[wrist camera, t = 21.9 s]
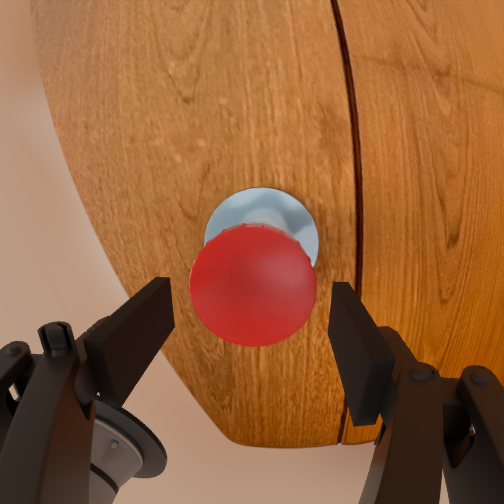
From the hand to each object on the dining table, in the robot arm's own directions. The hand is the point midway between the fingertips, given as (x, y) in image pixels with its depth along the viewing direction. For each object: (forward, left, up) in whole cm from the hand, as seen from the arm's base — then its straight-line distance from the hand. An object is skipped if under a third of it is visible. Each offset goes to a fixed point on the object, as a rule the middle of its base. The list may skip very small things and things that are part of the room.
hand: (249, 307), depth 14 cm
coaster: (0, 0, -15) cm, 15 cm away
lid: (0, 0, -3) cm, 3 cm away
